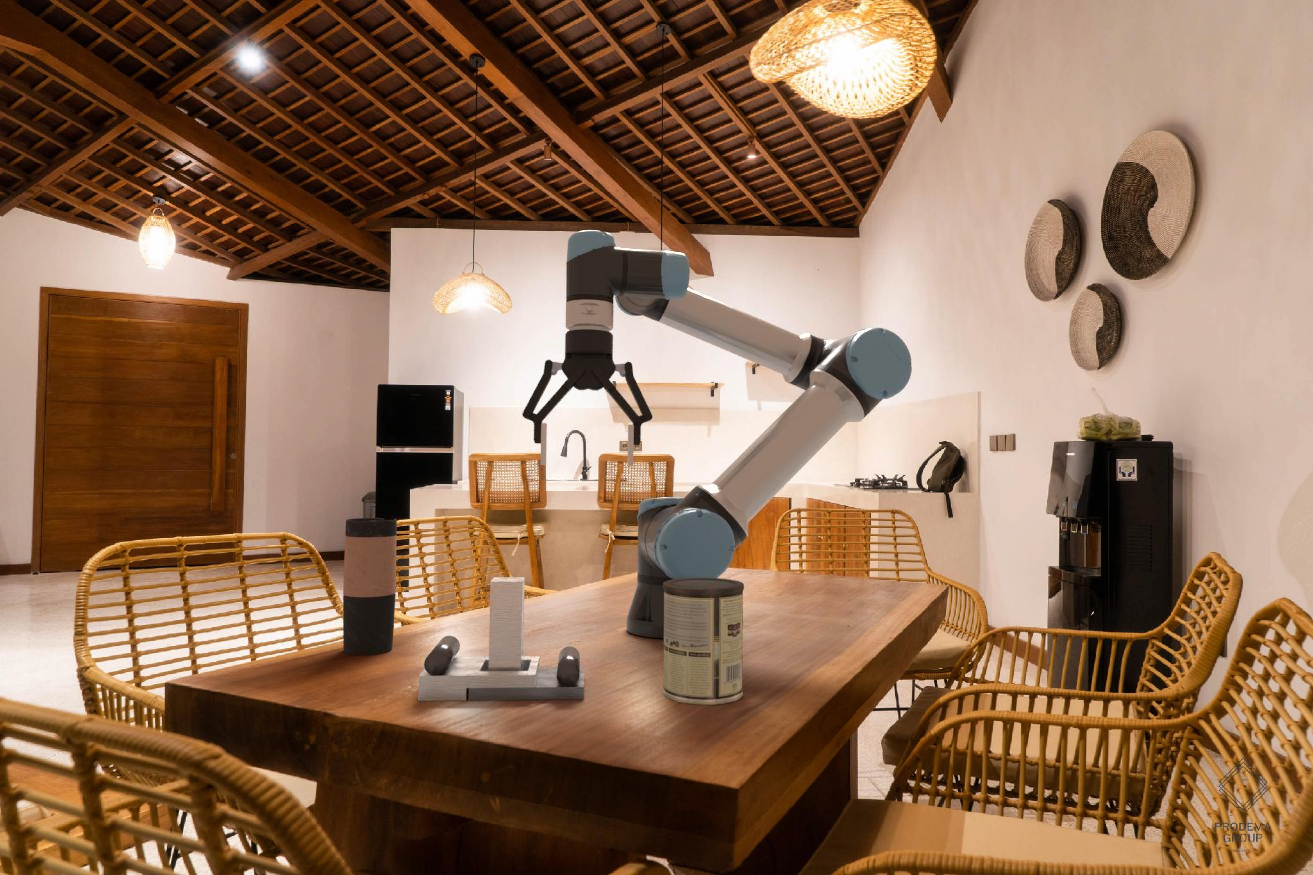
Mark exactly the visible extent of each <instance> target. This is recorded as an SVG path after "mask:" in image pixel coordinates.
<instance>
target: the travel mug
mask: <svg viewBox="0 0 1313 875" xmlns="http://www.w3.org/2000/svg"><path fill="white" fill-rule="evenodd" d="M397 522H398V520H397V518H394V519H392V520H391V519H390V520H385V519H384V518H381V517H360V518H359V517H358V518H347V519H346V520H345V536H344V538H345V539H344V558H343V586H342V588H343V589H342V594H343V595H342V610H343V611H342V614H343V615H342V619H343V620H342V622H343V624H342V626H343V629H342V630H343V631H342V634H343V636H342V637H343V638H342V640H343V648H342V649H343V652H344V653H345V654H347V655H354V656H370V655H378V654H379V655H380V654H385V653H388V652H390V651H392V649H393V647H394V646H393V642H394V629H395V612H396V610H395V609H396V593H397V592H396V590H397V589H396V588H397V584H396V582H397V539H398V537H397V535H398V534H397V529H398V526H397V524H398V523H397Z"/></svg>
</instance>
